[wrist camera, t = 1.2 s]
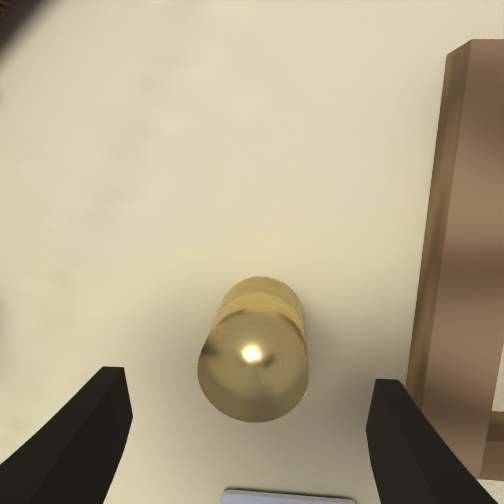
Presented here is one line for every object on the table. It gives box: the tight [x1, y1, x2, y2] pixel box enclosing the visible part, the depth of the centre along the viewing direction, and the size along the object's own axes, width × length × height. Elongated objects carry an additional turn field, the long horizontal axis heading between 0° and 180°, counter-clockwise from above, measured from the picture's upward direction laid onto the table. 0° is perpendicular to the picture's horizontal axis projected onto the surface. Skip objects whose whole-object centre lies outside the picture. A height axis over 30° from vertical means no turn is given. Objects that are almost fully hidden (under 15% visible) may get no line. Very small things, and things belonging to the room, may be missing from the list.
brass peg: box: [198, 277, 308, 422], centre depth 19 cm, size 4×4×6 cm
